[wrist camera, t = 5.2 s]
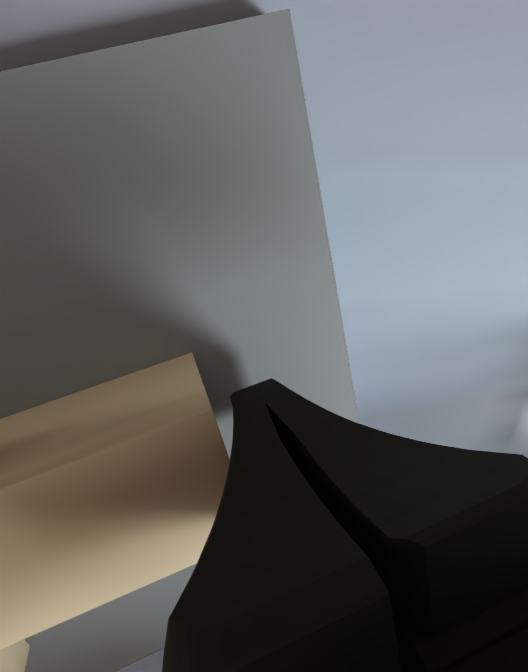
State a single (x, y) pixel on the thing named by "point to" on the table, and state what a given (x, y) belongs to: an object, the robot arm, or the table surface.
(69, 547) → the t block
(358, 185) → the table surface
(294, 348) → the slate board
